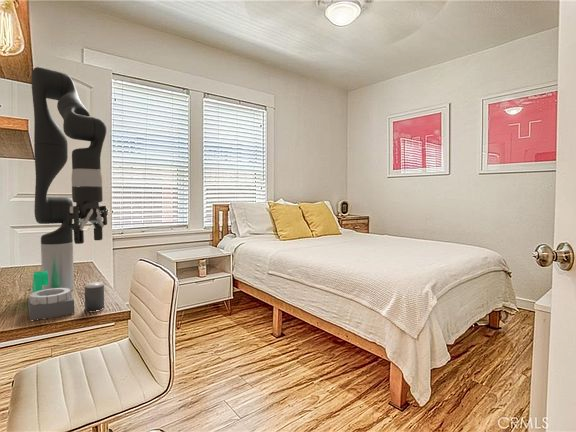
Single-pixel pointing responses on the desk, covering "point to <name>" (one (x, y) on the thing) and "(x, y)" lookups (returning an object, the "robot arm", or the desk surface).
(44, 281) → the camera mount
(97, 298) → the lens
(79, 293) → the desk surface
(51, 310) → the segmented ring socket plate
